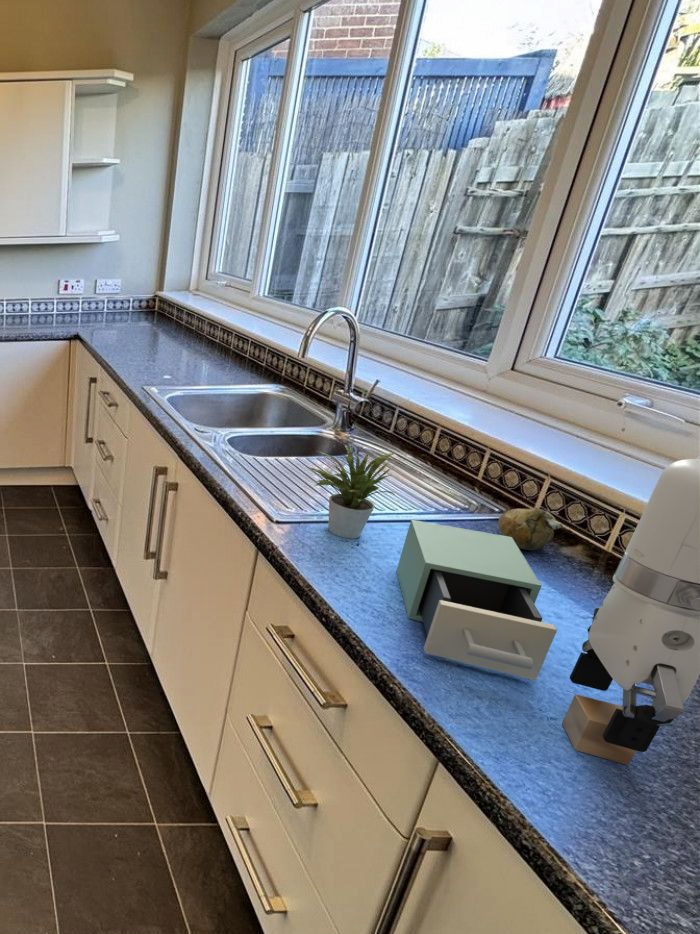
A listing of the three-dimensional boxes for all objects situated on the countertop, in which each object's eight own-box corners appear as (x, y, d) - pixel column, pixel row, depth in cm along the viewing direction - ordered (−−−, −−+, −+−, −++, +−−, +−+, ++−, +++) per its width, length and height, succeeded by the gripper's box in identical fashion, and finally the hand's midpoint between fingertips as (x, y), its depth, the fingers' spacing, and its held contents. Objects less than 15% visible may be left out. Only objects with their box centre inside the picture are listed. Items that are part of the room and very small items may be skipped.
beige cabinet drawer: (548, 707, 73) (571, 654, 70) (430, 676, 78) (448, 625, 75) (507, 621, 88) (524, 575, 85) (410, 600, 93) (424, 555, 90)
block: (612, 737, 70) (627, 707, 68) (628, 765, 66) (645, 734, 65) (561, 723, 72) (574, 693, 70) (574, 750, 68) (589, 719, 67)
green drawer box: (518, 644, 85) (541, 585, 81) (408, 618, 91) (425, 562, 87) (492, 590, 97) (511, 536, 93) (396, 570, 102) (411, 519, 99)
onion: (547, 542, 110) (563, 502, 107) (550, 561, 104) (566, 519, 101) (492, 530, 115) (506, 491, 112) (492, 547, 109) (506, 506, 106)
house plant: (335, 506, 125) (353, 430, 119) (407, 536, 113) (431, 454, 107) (286, 521, 119) (303, 442, 113) (357, 554, 107) (380, 468, 101)
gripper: (781, 643, 53) (692, 788, 59) (680, 551, 67) (617, 676, 73) (660, 617, 56) (588, 757, 62) (588, 535, 70) (535, 656, 76)
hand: (604, 713), depth 68 cm, fingers open, 9 cm apart
